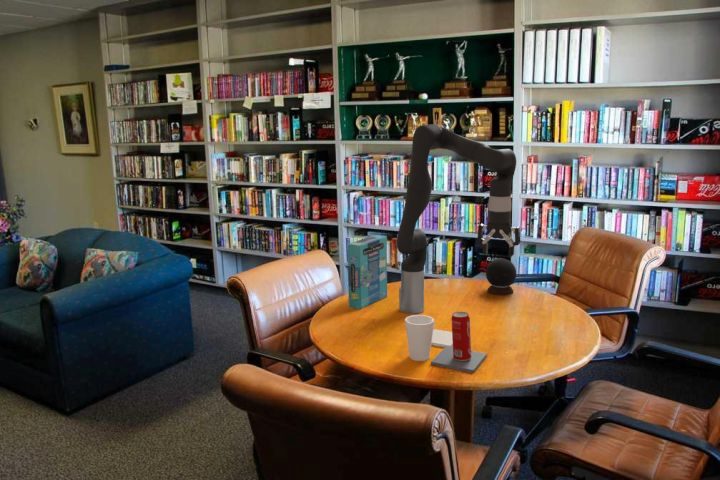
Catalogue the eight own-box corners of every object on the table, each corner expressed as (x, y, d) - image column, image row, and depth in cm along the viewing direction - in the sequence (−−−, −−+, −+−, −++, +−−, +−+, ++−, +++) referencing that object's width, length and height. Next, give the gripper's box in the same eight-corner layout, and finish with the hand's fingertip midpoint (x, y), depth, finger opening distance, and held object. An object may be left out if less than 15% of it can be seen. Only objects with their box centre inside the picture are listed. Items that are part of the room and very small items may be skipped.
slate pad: (431, 364, 188) (431, 361, 187) (446, 348, 200) (446, 346, 199) (473, 373, 181) (473, 370, 181) (486, 356, 193) (486, 353, 193)
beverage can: (471, 362, 186) (472, 317, 183) (450, 361, 187) (451, 316, 184) (471, 355, 192) (472, 311, 189) (451, 353, 193) (452, 310, 190)
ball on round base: (482, 294, 257) (483, 261, 254) (488, 285, 269) (489, 254, 266) (513, 297, 252) (514, 263, 249) (517, 288, 264) (519, 256, 261)
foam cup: (403, 352, 198) (403, 315, 195) (430, 350, 198) (430, 314, 196) (407, 363, 188) (407, 325, 186) (436, 362, 189) (436, 324, 186)
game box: (375, 294, 260) (375, 234, 254) (387, 296, 256) (387, 236, 250) (348, 307, 244) (346, 243, 238) (360, 309, 240) (359, 245, 234)
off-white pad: (417, 342, 206) (417, 339, 205) (430, 331, 216) (430, 328, 216) (450, 348, 200) (450, 345, 200) (461, 336, 210) (461, 333, 210)
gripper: (475, 209, 199) (474, 255, 202) (518, 212, 192) (516, 260, 195) (482, 206, 205) (481, 251, 208) (523, 208, 198) (521, 255, 202)
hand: (498, 255), depth 202 cm, fingers open, 8 cm apart
